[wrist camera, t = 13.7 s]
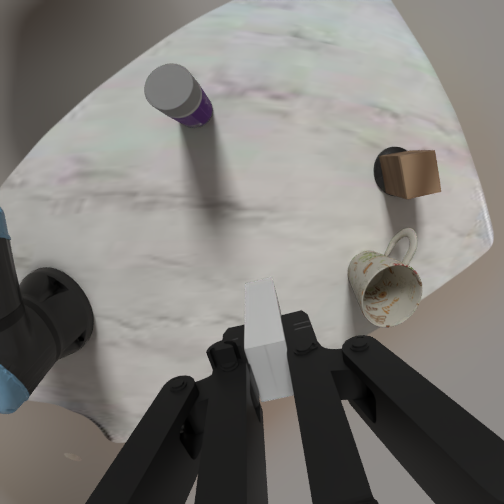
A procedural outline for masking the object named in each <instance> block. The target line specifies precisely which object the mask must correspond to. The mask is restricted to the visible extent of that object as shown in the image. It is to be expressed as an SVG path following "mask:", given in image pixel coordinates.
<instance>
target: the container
mask: <svg viewBox="0 0 504 504" xmlns="http://www.w3.org/2000/svg"><path fill="white" fill-rule="evenodd" d="M144 92H145V96H146V99H147V101H148V102H149V103H150V104H151V105H152V106H153V107H155V108H156V109H158V110H159V111H161V112H162V113H164V114H165V115H167V116H169V117H171V118H172V119H174V120H176V121H178V122H180V123H182V124H184V125H185V126H188V127H192V128H197V127H201V126H203V125H205V124H206V123H207V122H208V121H209V120H210V118H211V116H212V112H213V108H212V104H211V102H210V100H209V99H208V97H207V96H206V94H205V92H204V91H203V89H202V88H201V86H200V85H199V83H198V82H197V81H196V80H195V78H194V77H193V76H192V75H191V73H190V72H189V71H188V70H187V69H186V68H185V67H183V66H181V65H178V64H165V65H162V66H160V67H158V68H156V69H155V70H154V71H153V72H152V73H151V74H150V75H149V76H148V78H147V80H146V83H145V87H144Z"/></svg>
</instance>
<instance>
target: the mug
mask: <svg viewBox="0 0 504 504" xmlns="http://www.w3.org/2000/svg"><path fill="white" fill-rule="evenodd" d="M403 237H408V238H409V241H410V246H409V249H408V252H407V254H406V255H405V257H404V259H403V261H402V262H399V261H397V260H395V259H392V258H390V257H388V255H389V254H390V252H391V251H392V249H393V247H394V246H395V244H396V243H397V242H398V241H399V240H400V239H401V238H403ZM416 249H417V235H416V232H415V231H414V230H413V229H411V228H405V229H403V230H401V231H400V232H399V233H397V234H396V235H395V236H394V237H393V238H392V240H391V241H390V243H389V245H388V248H387V250H386V252H385V255H382V254H380V253H377V252H374V251H364V252H361V253H359V254H358V255H356V256H355V257H354V258H353V259H352V261H351V262H350V265H349V268H348V278H349V281H350V283H351V286H352V288H353V291H354V293H355V295H356V298H357V300H358V303H359V305H360V308H361V310H362V312H363V314H364V316H365V317H366V319H367V320H368V321H369V322H370V323H372V324H374V325H376V326H378V327H393V326H396V325H399V324H401V323H402V322H404V321H405V320H407V319H408V318H409V317H410V316H411V315H412V314H413V313H414V312H415V310H416V308H417V307H418V305H419V302H420V300H421V296H422V282H421V279H420V277H419V275H418V273H417V272H416V271H415V270H414V269H413V268H412V267H410V266H408V265H409V263H410V261H411V260H412V258H413V256H414V254H415V252H416Z"/></svg>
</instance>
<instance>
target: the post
mask: <svg viewBox="0 0 504 504" xmlns="http://www.w3.org/2000/svg"><path fill="white" fill-rule="evenodd" d="M405 151H407V150H405V149H403V148H400V147H390V148H387V149H385V150H383V151H382V152H381V153H380V154H379V155H378V157H377V159H376V161H375V164H374V177H375V180H376V182H377V184H378V186H379V187H380V188H381V190H383V191H384V192H385V193H386V191H385V185H384V179H383V174H382V169H381V163H380V158H379V156H382V155H388V154H393V153H399V152H405ZM389 195H391V194H389ZM392 196H394V195H392Z"/></svg>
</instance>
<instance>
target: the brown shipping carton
mask: <svg viewBox="0 0 504 504" xmlns="http://www.w3.org/2000/svg"><path fill="white" fill-rule="evenodd" d="M379 158H380V163H381V169H382V174H383V179H384V185H385V191H386V193H387V194H391V195H394V196H398V197H401V198H405V199H411V198H415V197H420V196H424V195H429V194H433V193H438V192H441V186H440V179H439V172H438V166H437V160H436V154H435V150H415V151H405V152H399V153H393V154H388V155H382V156H379Z"/></svg>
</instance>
